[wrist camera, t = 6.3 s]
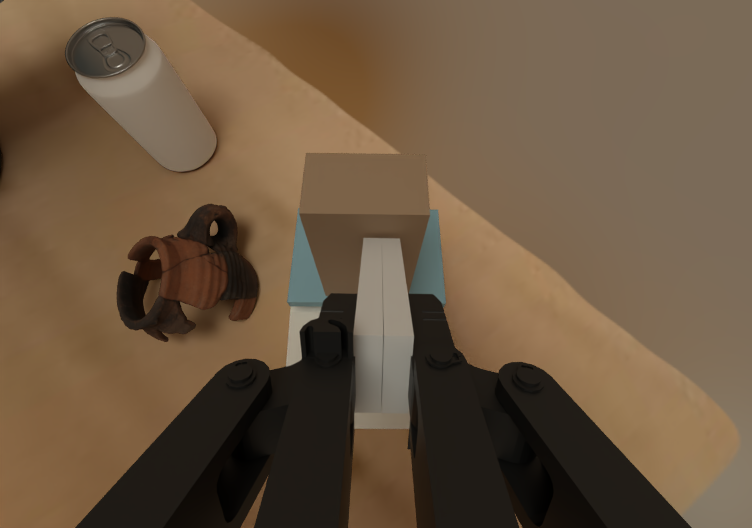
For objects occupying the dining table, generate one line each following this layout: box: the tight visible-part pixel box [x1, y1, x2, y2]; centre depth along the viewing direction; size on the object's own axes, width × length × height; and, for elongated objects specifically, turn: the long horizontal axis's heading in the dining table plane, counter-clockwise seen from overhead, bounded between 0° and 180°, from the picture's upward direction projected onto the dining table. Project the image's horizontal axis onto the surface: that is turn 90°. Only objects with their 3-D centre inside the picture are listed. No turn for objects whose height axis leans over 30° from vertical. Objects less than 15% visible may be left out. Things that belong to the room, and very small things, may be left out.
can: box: [65, 17, 217, 172], centre depth 31 cm, size 6×6×12 cm
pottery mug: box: [117, 204, 258, 342], centre depth 31 cm, size 12×10×8 cm
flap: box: [287, 153, 446, 308], centre depth 19 cm, size 7×10×10 cm
